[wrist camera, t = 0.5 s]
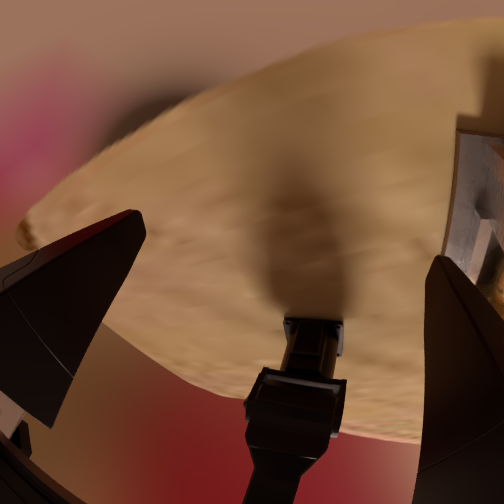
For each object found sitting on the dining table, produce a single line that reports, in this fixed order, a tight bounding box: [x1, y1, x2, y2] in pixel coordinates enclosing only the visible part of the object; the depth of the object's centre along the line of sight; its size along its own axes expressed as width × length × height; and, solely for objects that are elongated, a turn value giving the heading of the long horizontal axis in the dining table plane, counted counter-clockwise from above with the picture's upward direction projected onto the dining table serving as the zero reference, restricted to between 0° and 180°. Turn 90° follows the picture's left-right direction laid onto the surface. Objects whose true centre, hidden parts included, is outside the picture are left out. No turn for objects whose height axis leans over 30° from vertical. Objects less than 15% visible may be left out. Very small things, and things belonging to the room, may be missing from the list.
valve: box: [475, 259, 504, 320], centre depth 19 cm, size 11×5×6 cm, turn 12°
